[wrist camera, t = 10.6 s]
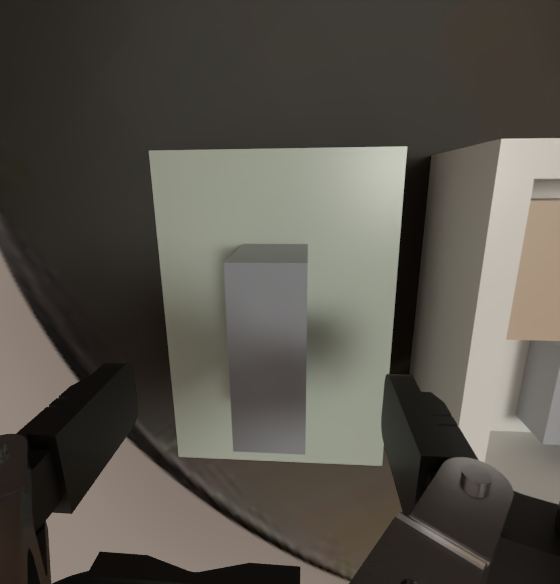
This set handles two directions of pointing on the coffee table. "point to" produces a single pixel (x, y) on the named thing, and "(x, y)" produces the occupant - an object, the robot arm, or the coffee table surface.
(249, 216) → the lid
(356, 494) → the coffee table surface
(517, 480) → the storage box
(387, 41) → the coffee table surface
